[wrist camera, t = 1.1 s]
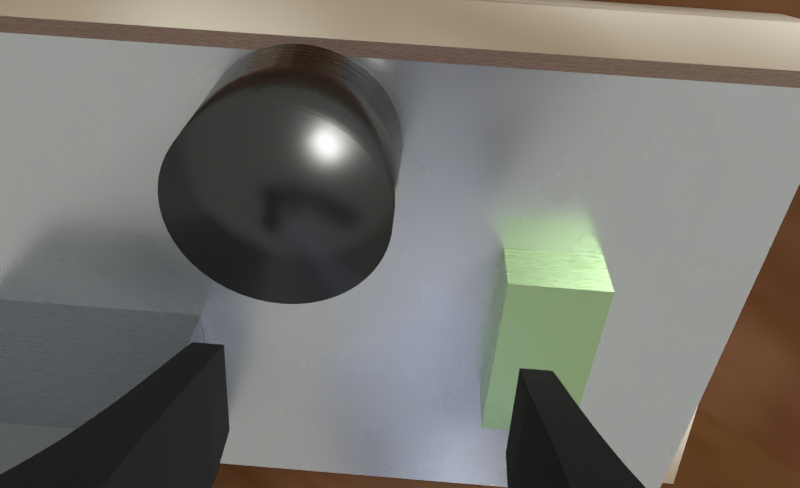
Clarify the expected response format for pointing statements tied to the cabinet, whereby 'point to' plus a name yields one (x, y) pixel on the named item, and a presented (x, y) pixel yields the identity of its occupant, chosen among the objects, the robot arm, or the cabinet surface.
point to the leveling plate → (448, 221)
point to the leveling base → (474, 31)
